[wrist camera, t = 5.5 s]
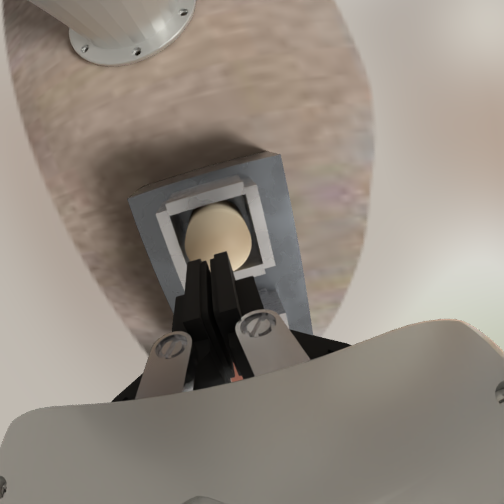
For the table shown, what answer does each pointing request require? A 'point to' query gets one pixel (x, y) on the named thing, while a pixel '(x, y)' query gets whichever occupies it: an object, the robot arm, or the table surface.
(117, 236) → the table surface
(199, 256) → the beige ball
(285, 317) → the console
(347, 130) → the table surface
